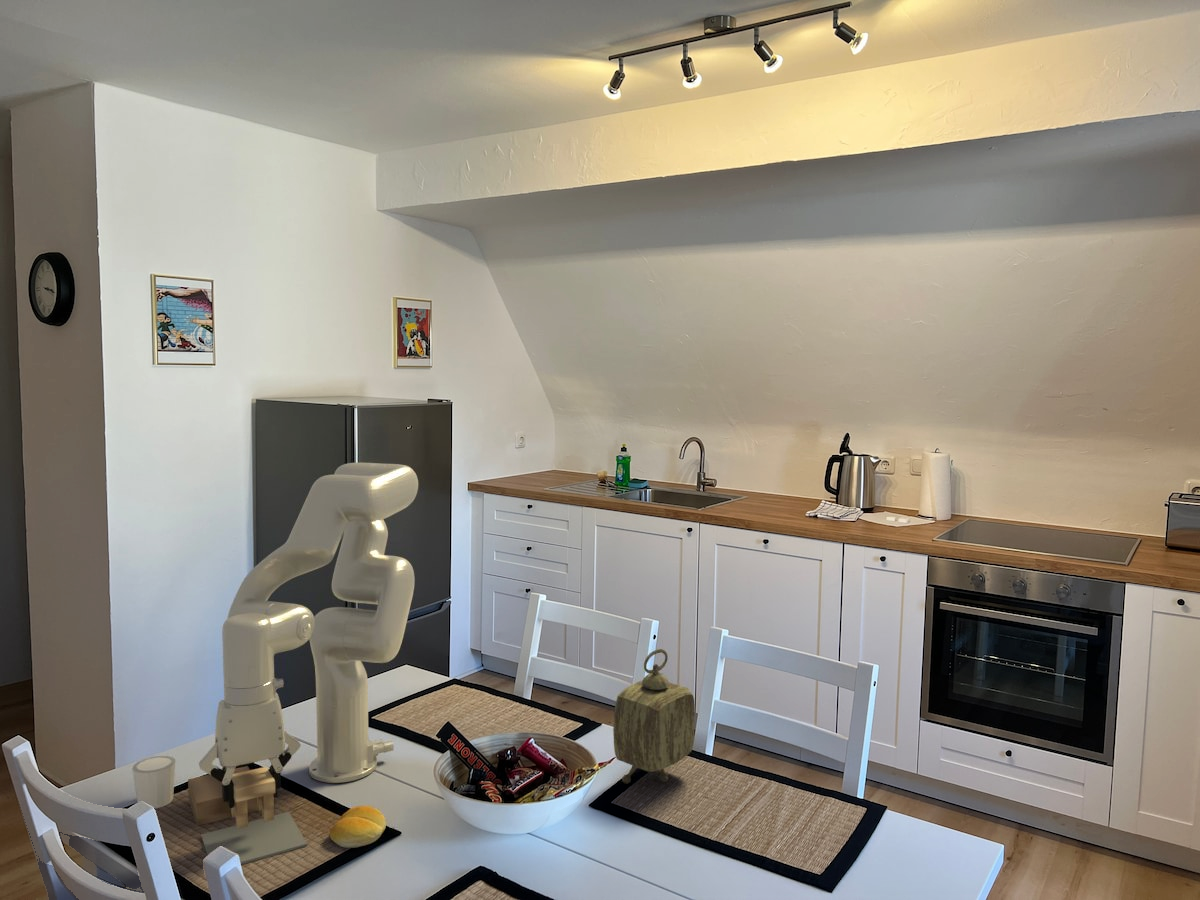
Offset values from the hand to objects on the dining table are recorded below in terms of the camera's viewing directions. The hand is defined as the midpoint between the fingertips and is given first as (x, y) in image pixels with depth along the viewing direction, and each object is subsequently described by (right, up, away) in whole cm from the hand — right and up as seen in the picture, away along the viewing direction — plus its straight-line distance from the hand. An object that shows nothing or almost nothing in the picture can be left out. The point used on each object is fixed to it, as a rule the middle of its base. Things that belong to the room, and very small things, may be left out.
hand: (252, 798), depth 140 cm
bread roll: (+16, -8, +3) cm, 18 cm away
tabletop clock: (+67, -6, +24) cm, 72 cm away
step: (-10, -6, +12) cm, 17 cm away
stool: (0, -3, 0) cm, 3 cm away
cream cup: (-23, -6, +13) cm, 27 cm away
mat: (0, -7, +1) cm, 7 cm away
